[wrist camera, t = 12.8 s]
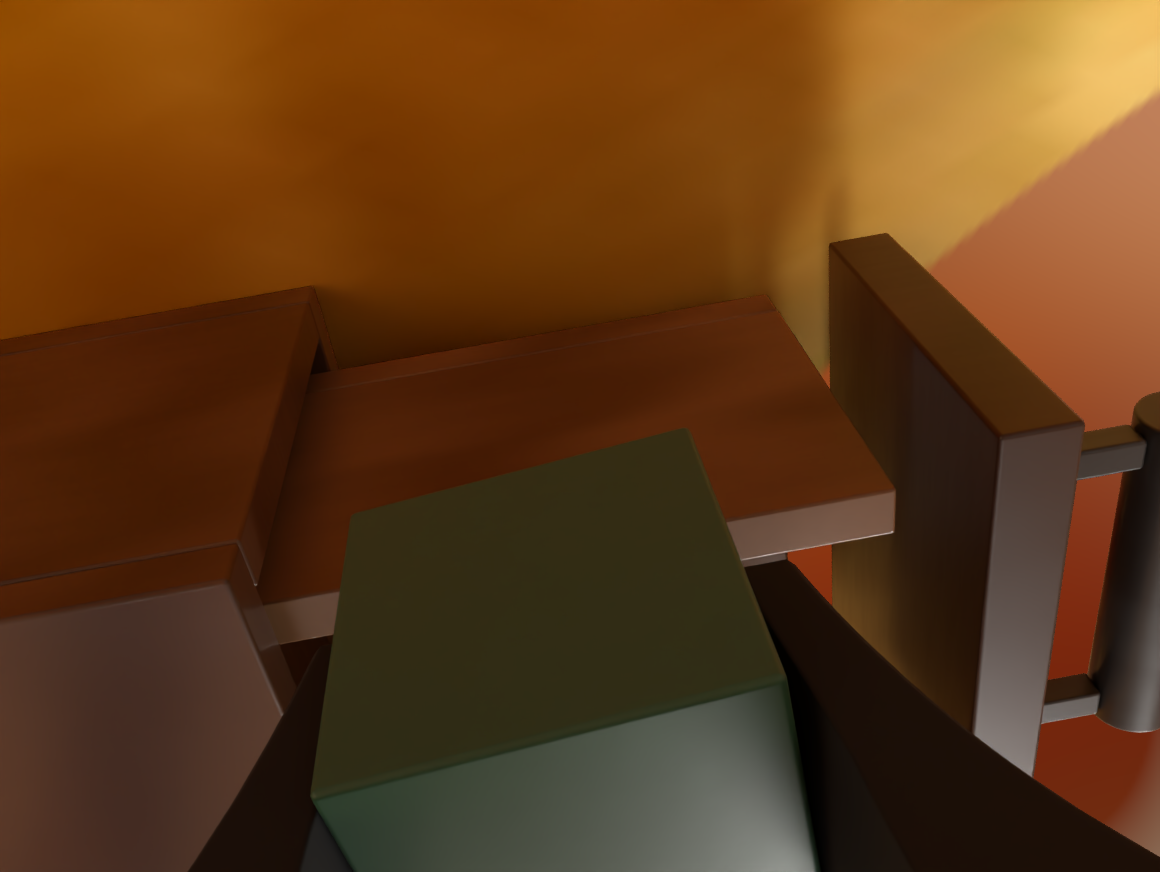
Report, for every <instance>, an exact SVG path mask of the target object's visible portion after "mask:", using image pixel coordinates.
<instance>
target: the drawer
mask: <svg viewBox="0 0 1160 872" xmlns="http://www.w3.org/2000/svg"><path fill="white" fill-rule="evenodd" d="M829 334H830V389H829V387H828V386H827V385H826V383H825V381H824V380H823V378H822V377H821V375H820V374H819V372H818V371H817V369H816V368H815V366H814V365H813V363H812V362H811V360H810V358H809V357H808V355H807V354H806V352H805V351H804V349H803V348H802V346H801V345H800V343H799V342H798V340H797V339H796V337H795V336H794V334H793V333H792V331H791V330H790V328H789V327H788V325H787V324H786V322H785V321H784V319H783V318H782V316H781V315H780V313H779V312H778V311H777V310H776V308H775V307H774V305H773V304H772V302H771V300H770V299H769V297H768V296H767V295H760V296H754V297H748V298H743V299H737V300H731V301H726V302H720V303H714V304H709V305H703V306H697V307H692V308H686V309H681V310H675V311H669V312H664V313H658V314H652V315H647V316H641V317H635V318H630V319H624V320H618V321H613V322H607V323H601V324H596V325H590V326H584V327H579V328H573V329H567V330H562V331H556V332H550V333H545V334H539V335H533V336H528V337H522V338H516V339H511V340H505V341H499V342H494V343H488V344H482V345H477V346H471V347H465V348H460V349H454V350H448V351H443V352H437V353H431V354H426V355H420V356H414V357H409V358H403V359H397V360H392V361H386V362H381V363H375V364H369V365H364V366H358V367H352V368H347V369H341V370H335V371H330V372H324V373H318V374H313V375H310V377H309V381H308V385H307V389H306V393H305V397H304V401H303V405H302V409H301V413H300V417H299V421H298V425H297V429H296V433H295V437H294V441H293V445H292V449H291V453H290V457H289V461H288V465H287V469H286V473H285V477H284V481H283V485H282V489H281V493H280V497H279V501H278V505H277V509H276V513H275V517H274V521H273V524H272V528H271V532H270V536H269V540H268V544H267V548H266V552H265V556H264V560H263V564H262V568H261V572H260V576H259V580H258V584H257V585H256V586H255V587H256V589H257V592H258V594H259V596H260V599H261V601H262V604H263V606H264V609H265V611H266V614H267V616H268V619H269V621H270V623H271V626H272V628H273V631H274V633H275V636H276V638H277V641H278V643H279V646H280V648H281V650H282V653H283V655H284V658H285V660H286V663H287V665H288V668H289V670H290V673H291V675H292V677H293V680H294V682H295V685H296V687H298V685H299V683H300V681H301V679H302V677H303V675H304V673H305V671H306V669H307V667H308V665H309V664H310V662H311V660H312V658H313V656H314V654H315V653H316V651H317V650H318V649H319V648H320V646H323V645H328V644H332V641H333V634H334V627H335V620H336V613H337V606H338V600H339V593H340V586H341V579H342V572H343V565H344V558H345V551H346V544H347V538H348V531H349V524H350V517H351V516H352V515H353V514H354V513H357V512H361V511H364V510H368V509H372V508H376V507H380V506H384V505H387V504H391V503H395V502H399V501H403V500H407V499H410V498H414V497H418V496H422V495H426V494H430V493H434V492H437V491H441V490H445V489H449V488H453V487H457V486H460V485H464V484H468V483H472V482H476V481H480V480H483V479H487V478H491V477H495V476H499V475H503V474H506V473H510V472H514V471H518V470H522V469H526V468H529V467H533V466H537V465H541V464H545V463H549V462H552V461H556V460H560V459H564V458H568V457H572V456H575V455H579V454H583V453H587V452H591V451H595V450H599V449H602V448H606V447H610V446H614V445H618V444H622V443H625V442H629V441H633V440H637V439H641V438H645V437H648V436H652V435H656V434H660V433H664V432H668V431H671V430H675V429H679V428H688V429H689V431H690V432H691V434H692V437H693V439H694V442H695V444H696V447H697V449H698V452H699V455H700V457H701V460H702V462H703V465H704V467H705V470H706V472H707V475H708V477H709V480H710V482H711V485H712V488H713V490H714V493H715V495H716V498H717V500H718V503H719V505H720V508H721V510H722V513H723V516H724V518H725V521H726V523H727V526H728V528H729V531H730V533H731V536H732V538H733V541H734V544H735V546H736V549H737V551H738V554H739V556H740V559H741V561H742V564H743V566H744V567H747V566H753V565H758V564H764V563H769V562H774V561H780V560H785V559H787V560H788V558H787V552H792V551H797V550H803V549H808V548H814V547H820V546H825V545H830V544H832V607H833V608H834V609H835V610H836V611H837V612H838V613H839V614H840V615H841V616H842V617H843V618H844V619H845V620H846V621H847V622H848V623H849V624H850V625H851V626H852V627H853V628H854V629H855V630H856V631H857V632H858V633H859V634H860V635H861V636H862V637H863V638H864V639H865V640H866V641H867V642H868V643H869V644H870V645H871V646H872V647H873V648H874V649H876V650H877V651H878V652H879V653H880V654H881V655H882V656H883V657H884V658H885V659H886V660H887V661H888V662H890V663H891V664H892V665H893V666H894V667H895V668H896V669H897V670H898V671H899V672H900V673H901V674H902V675H904V676H905V677H906V678H907V679H908V680H909V681H910V682H911V683H912V684H914V685H915V686H916V687H917V688H918V689H919V690H920V691H922V692H923V693H924V694H925V695H926V696H927V697H928V698H930V699H931V700H932V701H933V702H934V703H936V704H937V705H938V706H939V707H940V708H942V709H943V710H944V711H945V712H947V713H948V714H949V715H950V716H951V717H953V718H954V719H955V720H956V721H957V722H959V723H960V724H961V725H962V726H964V727H965V728H966V729H967V730H969V731H970V732H971V733H972V734H974V735H975V736H976V737H978V738H979V739H980V740H981V741H983V742H984V743H985V744H987V745H988V746H989V747H991V748H992V749H993V750H995V751H996V752H997V753H999V754H1000V755H1001V756H1003V757H1004V758H1006V759H1007V760H1008V761H1010V762H1011V763H1013V764H1014V765H1015V766H1017V767H1018V768H1020V769H1021V770H1022V771H1024V772H1025V773H1027V774H1028V775H1029V776H1031V777H1032V778H1033V776H1034V769H1035V763H1036V756H1037V749H1038V742H1039V735H1040V728H1041V724H1042V723H1047V722H1053V721H1058V720H1064V719H1069V718H1075V717H1080V716H1085V715H1091V714H1095V715H1096V716H1097V717H1098V718H1099V719H1101V720H1102V721H1103V722H1105V723H1107V724H1109V725H1111V726H1113V727H1115V728H1118V729H1121V730H1125V731H1130V732H1150V731H1154V730H1157V729H1159V728H1160V392H1156V393H1152V394H1149V395H1147V396H1145V397H1143V398H1142V399H1141V400H1139V402H1138V403H1137V404H1136V405H1135V407H1134V411H1133V417H1132V422H1131V426H1130V425H1122V426H1116V427H1111V428H1106V429H1100V430H1095V431H1089V432H1084V429H1085V424H1084V421H1083V420H1082V419H1081V418H1080V417H1079V416H1078V415H1077V414H1076V413H1075V412H1074V411H1073V410H1072V409H1071V408H1070V407H1069V406H1068V405H1067V404H1066V403H1065V402H1063V400H1062V399H1061V398H1059V397H1058V396H1057V395H1056V394H1055V393H1054V392H1053V391H1052V390H1051V389H1050V388H1049V387H1048V386H1047V385H1046V384H1045V383H1044V382H1043V381H1041V379H1040V378H1038V376H1036V375H1035V374H1034V373H1033V372H1032V371H1031V370H1030V369H1029V368H1028V367H1027V366H1026V365H1025V364H1024V363H1023V362H1022V361H1021V360H1020V359H1019V358H1018V357H1017V356H1015V355H1014V354H1013V353H1012V352H1011V351H1010V350H1009V349H1008V348H1007V347H1006V346H1005V345H1004V344H1003V343H1002V342H1001V341H1000V340H999V339H998V338H997V337H996V336H994V334H992V333H991V332H990V331H989V330H988V329H987V328H986V327H985V326H984V325H983V324H982V323H981V322H980V321H979V320H978V319H977V318H976V317H975V316H974V315H973V314H972V313H970V312H969V311H968V310H967V309H966V308H965V307H964V306H963V305H962V304H961V303H960V302H959V301H958V300H957V299H956V298H955V297H954V296H953V295H952V294H951V293H950V292H949V291H947V290H946V289H945V288H944V287H943V286H942V285H941V284H940V283H939V282H938V281H937V280H936V279H935V278H934V277H933V276H932V275H931V274H930V273H929V272H928V271H927V270H925V269H924V268H923V267H922V266H921V265H920V264H919V263H918V262H917V261H916V260H915V259H914V258H913V257H912V256H911V255H910V254H909V253H908V252H907V251H906V250H905V249H904V248H902V247H901V246H900V245H899V244H898V243H897V242H896V241H895V240H894V239H893V238H892V237H891V236H890V235H889V234H887V233H884V234H878V235H872V236H867V237H861V238H855V239H849V240H844V241H838V242H832V243H830V244H829ZM1120 472H1123V474H1122V479H1121V485H1120V491H1119V497H1118V502H1117V508H1116V513H1115V519H1114V525H1113V531H1112V536H1111V542H1110V548H1109V553H1108V559H1107V565H1106V570H1105V576H1104V582H1103V588H1102V593H1101V599H1100V605H1099V610H1098V616H1097V622H1096V627H1095V633H1094V639H1093V645H1092V651H1091V656H1090V662H1089V668H1088V673H1087V674H1084V673H1083V674H1078V675H1072V676H1067V677H1062V678H1057V679H1051V680H1048V674H1049V667H1050V660H1051V653H1052V647H1053V640H1054V633H1055V626H1056V620H1057V612H1058V606H1059V599H1060V592H1061V586H1062V579H1063V572H1064V565H1065V558H1066V551H1067V545H1068V538H1069V530H1070V524H1071V518H1072V510H1073V504H1074V497H1075V490H1076V484H1077V480H1082V479H1087V478H1092V477H1098V476H1104V475H1109V474H1114V473H1120Z"/></svg>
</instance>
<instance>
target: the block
mask: <svg viewBox="0 0 1160 872" xmlns="http://www.w3.org/2000/svg"><path fill="white" fill-rule="evenodd" d="M310 797H311V799H312V802H313V803H314V805H315V807H316V808H317V810H318V812H319V814H320V815H321V817H322V819H323V820H324V822H325V824H326V826H327V827H328V829H329V831H330V832H331V834H332V836H333V837H334V839H335V841H336V843H337V844H338V846H339V848H340V849H341V851H342V853H343V855H344V856H345V858H346V860H347V861H348V863H349V865H350V867H351V868H352V870H353V872H821V867H820V861H819V856H818V850H817V844H816V839H815V833H814V827H813V822H812V816H811V810H810V805H809V799H808V793H807V788H806V782H805V777H804V771H803V765H802V760H801V754H800V748H799V743H798V737H797V731H796V726H795V720H794V715H793V709H792V703H791V698H790V692H789V686H788V681H787V676H786V673H785V671H784V668H783V666H782V663H781V661H780V658H779V655H778V653H777V650H776V648H775V645H774V643H773V640H772V638H771V635H770V633H769V630H768V627H767V625H766V622H765V620H764V617H763V615H762V612H761V610H760V607H759V605H758V602H757V599H756V597H755V594H754V592H753V589H752V587H751V584H750V582H749V579H748V577H747V574H746V572H745V569H744V566H743V564H742V561H741V559H740V556H739V554H738V551H737V549H736V546H735V544H734V541H733V538H732V536H731V533H730V531H729V528H728V526H727V523H726V521H725V518H724V516H723V513H722V510H721V508H720V505H719V503H718V500H717V498H716V495H715V493H714V490H713V488H712V485H711V482H710V480H709V477H708V475H707V472H706V470H705V467H704V465H703V462H702V460H701V457H700V455H699V452H698V449H697V447H696V444H695V442H694V439H693V437H692V434H691V432H690V431H689V429H688V428H679V429H675V430H671V431H668V432H664V433H660V434H656V435H652V436H648V437H645V438H641V439H637V440H633V441H629V442H625V443H622V444H618V445H614V446H610V447H606V448H602V449H599V450H595V451H591V452H587V453H583V454H579V455H575V456H572V457H568V458H564V459H560V460H556V461H552V462H549V463H545V464H541V465H537V466H533V467H529V468H526V469H522V470H518V471H514V472H510V473H506V474H503V475H499V476H495V477H491V478H487V479H483V480H480V481H476V482H472V483H468V484H464V485H460V486H457V487H453V488H449V489H445V490H441V491H437V492H434V493H430V494H426V495H422V496H418V497H414V498H410V499H407V500H403V501H399V502H395V503H391V504H387V505H384V506H380V507H376V508H372V509H368V510H364V511H361V512H357V513H354V514H353V515H352V516H351V517H350V524H349V531H348V538H347V544H346V551H345V558H344V565H343V572H342V579H341V586H340V593H339V600H338V606H337V613H336V620H335V627H334V634H333V641H332V648H331V655H330V662H329V669H328V675H327V682H326V689H325V696H324V703H323V710H322V717H321V724H320V731H319V737H318V744H317V751H316V758H315V765H314V772H313V779H312V786H311V795H310Z"/></svg>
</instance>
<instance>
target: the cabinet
mask: <svg viewBox="0 0 1160 872" xmlns="http://www.w3.org/2000/svg"><path fill="white" fill-rule="evenodd" d="M335 370H339V368H338V365H337V362H336V358H335V355H334V352H333V349H332V345H331V342H330V339H329V335H328V332H327V329H326V326H325V322H324V319H323V316H322V312H321V309H320V306H319V303H318V299H317V296H316V293H315V289H314V287H313V286H309V287H303V288H298V289H292V290H286V291H281V292H275V293H269V294H263V295H258V296H252V297H246V298H241V299H235V300H229V301H223V302H218V303H212V304H206V305H201V306H195V307H189V308H184V309H178V310H172V311H166V312H161V313H155V314H149V315H144V316H138V317H132V318H126V319H121V320H115V321H109V322H104V323H98V324H92V325H86V326H81V327H75V328H69V329H64V330H58V331H52V332H46V333H41V334H35V335H29V336H24V337H18V338H12V339H6V340H1V341H0V872H188V870H189V869H190V867H191V866H192V864H193V863H194V861H195V860H196V858H197V857H198V855H199V854H200V852H201V851H202V849H203V847H204V846H205V844H206V843H207V841H208V840H209V838H210V837H211V835H212V834H213V832H214V831H215V829H216V827H217V826H218V824H219V823H220V821H221V820H222V818H223V817H224V815H225V814H226V812H227V810H228V809H229V807H230V806H231V804H232V803H233V801H234V799H235V798H236V796H237V794H238V793H239V791H240V789H241V788H242V786H243V784H244V782H245V781H246V779H247V777H248V775H249V774H250V772H251V770H252V769H253V767H254V765H255V763H256V762H257V760H258V758H259V757H260V755H261V753H262V751H263V750H264V748H265V746H266V744H267V743H268V741H269V739H270V737H271V736H272V734H273V732H274V730H275V728H276V726H277V724H278V723H279V721H280V719H281V717H282V715H283V713H284V712H285V710H286V708H287V706H288V704H289V702H290V700H291V698H292V696H293V695H294V693H295V691H296V689H297V687H296V685H295V682H294V680H293V677H292V675H291V673H290V670H289V668H288V665H287V663H286V660H285V658H284V655H283V653H282V650H281V648H280V646H279V643H278V641H277V638H276V636H275V633H274V631H273V628H272V626H271V623H270V621H269V619H268V616H267V614H266V611H265V609H264V606H263V604H262V601H261V599H260V596H259V594H258V592H257V589H256V587H255V586H256V585H257V584H258V580H259V576H260V572H261V568H262V564H263V560H264V556H265V552H266V548H267V544H268V540H269V536H270V532H271V528H272V524H273V521H274V517H275V513H276V509H277V505H278V501H279V497H280V493H281V489H282V485H283V481H284V477H285V473H286V469H287V465H288V461H289V457H290V453H291V449H292V445H293V441H294V437H295V433H296V429H297V425H298V421H299V417H300V413H301V409H302V405H303V401H304V397H305V393H306V389H307V385H308V381H309V377H310V375H313V374H318V373H324V372H330V371H335Z"/></svg>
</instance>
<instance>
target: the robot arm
mask: <svg viewBox="0 0 1160 872" xmlns="http://www.w3.org/2000/svg"><path fill="white" fill-rule="evenodd" d="M744 569H745V572H746V574H747V577H748V579H749V582H750V584H751V587H752V589H753V592H754V594H755V597H756V599H757V602H758V605H759V607H760V610H761V612H762V615H763V617H764V620H765V622H766V625H767V627H768V630H769V633H770V635H771V638H772V640H773V643H774V645H775V648H776V650H777V653H778V655H779V658H780V661H781V663H782V666H783V668H784V671H785V673H786V676H787V681H788V686H789V692H790V698H791V703H792V709H793V715H794V720H795V726H796V731H797V737H798V743H799V748H800V754H801V760H802V765H803V771H804V777H805V782H806V788H807V793H808V799H809V805H810V810H811V816H812V822H813V827H814V833H815V839H816V844H817V850H818V856H819V861H820V867H821V872H1160V857H1159V856H1157V855H1155V854H1154V853H1152V852H1150V851H1149V850H1147V849H1145V848H1144V847H1142V846H1140V845H1138V844H1137V843H1135V842H1133V841H1132V840H1130V839H1128V838H1127V837H1125V836H1123V835H1122V834H1120V833H1118V832H1117V831H1115V830H1113V829H1112V828H1110V827H1108V826H1106V825H1105V824H1103V823H1101V822H1100V821H1098V820H1096V819H1095V818H1093V817H1091V816H1089V815H1088V814H1086V813H1085V812H1083V811H1082V810H1080V809H1078V808H1077V807H1075V806H1074V805H1072V804H1071V803H1069V802H1068V801H1066V800H1065V799H1063V798H1062V797H1060V796H1059V795H1057V794H1056V793H1054V792H1053V791H1051V790H1050V789H1048V788H1047V787H1045V786H1044V785H1042V784H1041V783H1039V782H1038V781H1036V780H1035V779H1033V778H1032V777H1031V776H1029V775H1028V774H1027V773H1025V772H1024V771H1022V770H1021V769H1020V768H1018V767H1017V766H1015V765H1014V764H1013V763H1011V762H1010V761H1008V760H1007V759H1006V758H1004V757H1003V756H1001V755H1000V754H999V753H997V752H996V751H995V750H993V749H992V748H991V747H989V746H988V745H987V744H985V743H984V742H983V741H981V740H980V739H979V738H978V737H976V736H975V735H974V734H972V733H971V732H970V731H969V730H967V729H966V728H965V727H964V726H962V725H961V724H960V723H959V722H957V721H956V720H955V719H954V718H953V717H951V716H950V715H949V714H948V713H947V712H945V711H944V710H943V709H942V708H940V707H939V706H938V705H937V704H936V703H934V702H933V701H932V700H931V699H930V698H928V697H927V696H926V695H925V694H924V693H923V692H922V691H920V690H919V689H918V688H917V687H916V686H915V685H914V684H912V683H911V682H910V681H909V680H908V679H907V678H906V677H905V676H904V675H902V674H901V673H900V672H899V671H898V670H897V669H896V668H895V667H894V666H893V665H892V664H891V663H890V662H888V661H887V660H886V659H885V658H884V657H883V656H882V655H881V654H880V653H879V652H878V651H877V650H876V649H874V648H873V647H872V646H871V645H870V644H869V643H868V642H867V641H866V640H865V639H864V638H863V637H862V636H861V635H860V634H859V633H858V632H857V631H856V630H855V629H854V628H853V627H852V626H851V625H850V624H849V623H848V622H847V621H846V620H845V619H844V618H843V617H842V616H841V615H840V614H839V613H838V612H837V611H836V610H835V609H834V608H833V607H832V605H831V604H830V603H829V602H828V601H827V600H826V599H825V598H824V597H823V596H822V595H821V594H820V593H819V592H818V590H817V589H816V588H815V587H814V586H813V585H812V584H811V583H810V582H809V581H808V579H807V578H806V577H805V576H804V575H803V574H802V573H801V571H800V570H799V569H798V568H797V567H796V565H794V564H793V563H791V562H790V561H788V560H787V559H785V560H780V561H774V562H769V563H764V564H758V565H753V566H747V567H744ZM331 648H332V644H328V645H323V646H320V648H319V649H318V650H317V651H316V653H315V654H314V656H313V658H312V660H311V662H310V664H309V665H308V667H307V669H306V671H305V673H304V675H303V677H302V679H301V681H300V683H299V685H298V687H297V689H296V691H295V693H294V695H293V696H292V698H291V700H290V702H289V704H288V706H287V708H286V710H285V712H284V713H283V715H282V717H281V719H280V721H279V723H278V724H277V726H276V728H275V730H274V732H273V734H272V736H271V737H270V739H269V741H268V743H267V744H266V746H265V748H264V750H263V751H262V753H261V755H260V757H259V758H258V760H257V762H256V763H255V765H254V767H253V769H252V770H251V772H250V774H249V775H248V777H247V779H246V781H245V782H244V784H243V786H242V788H241V789H240V791H239V793H238V794H237V796H236V798H235V799H234V801H233V803H232V804H231V806H230V807H229V809H228V810H227V812H226V814H225V815H224V817H223V818H222V820H221V821H220V823H219V824H218V826H217V827H216V829H215V831H214V832H213V834H212V835H211V837H210V838H209V840H208V841H207V843H206V844H205V846H204V847H203V849H202V851H201V852H200V854H199V855H198V857H197V858H196V860H195V861H194V863H193V864H192V866H191V867H190V869H189V870H188V872H353V870H352V868H351V867H350V865H349V863H348V861H347V860H346V858H345V856H344V855H343V853H342V851H341V849H340V848H339V846H338V844H337V843H336V841H335V839H334V837H333V836H332V834H331V832H330V831H329V829H328V827H327V826H326V824H325V822H324V820H323V819H322V817H321V815H320V814H319V812H318V810H317V808H316V807H315V805H314V803H313V802H312V799H311V797H310V795H311V786H312V779H313V772H314V765H315V758H316V751H317V744H318V737H319V731H320V724H321V717H322V710H323V703H324V696H325V689H326V682H327V675H328V669H329V662H330V655H331Z"/></svg>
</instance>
